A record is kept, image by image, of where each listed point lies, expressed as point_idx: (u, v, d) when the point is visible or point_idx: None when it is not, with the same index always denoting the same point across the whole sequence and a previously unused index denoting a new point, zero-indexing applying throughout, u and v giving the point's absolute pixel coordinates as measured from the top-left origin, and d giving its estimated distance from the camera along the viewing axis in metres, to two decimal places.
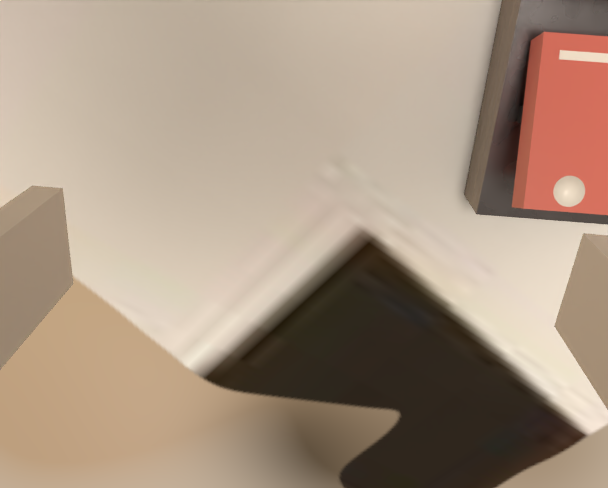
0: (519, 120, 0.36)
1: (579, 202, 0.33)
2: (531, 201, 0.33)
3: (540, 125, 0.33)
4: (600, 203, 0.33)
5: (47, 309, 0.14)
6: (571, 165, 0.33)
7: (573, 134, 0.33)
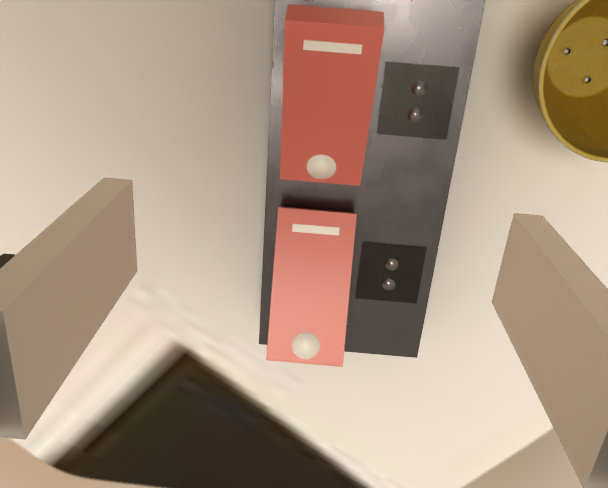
0: None
1: (315, 355, 0.37)
2: (273, 353, 0.37)
3: (278, 288, 0.37)
4: (334, 356, 0.37)
5: (119, 293, 0.15)
6: (307, 322, 0.37)
7: (307, 296, 0.37)
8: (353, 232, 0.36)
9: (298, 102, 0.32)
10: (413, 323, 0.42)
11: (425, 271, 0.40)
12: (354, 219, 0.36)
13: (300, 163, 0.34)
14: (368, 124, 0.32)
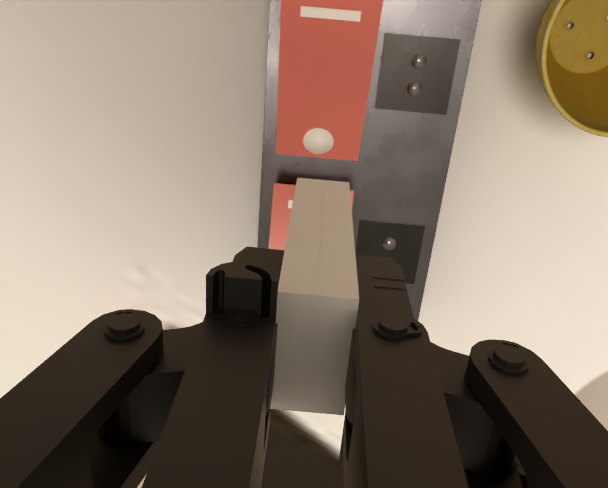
0: None
1: None
2: None
3: None
4: None
5: None
6: None
7: None
8: None
9: (295, 72, 0.31)
10: None
11: (423, 251, 0.39)
12: (351, 196, 0.35)
13: (297, 137, 0.34)
14: (366, 96, 0.31)
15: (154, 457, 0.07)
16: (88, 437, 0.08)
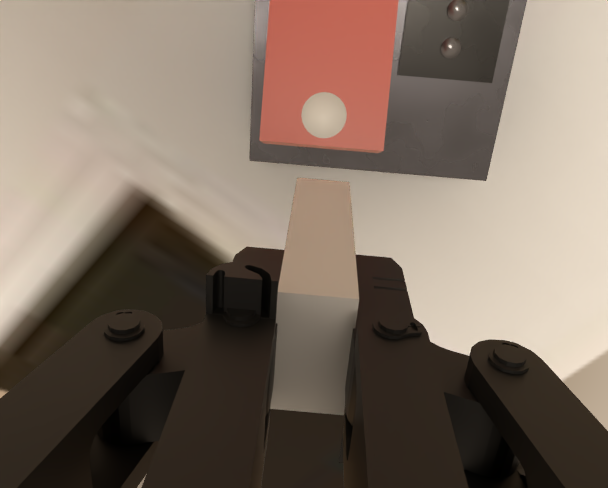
0: None
1: (340, 131, 0.23)
2: (270, 130, 0.23)
3: (278, 17, 0.22)
4: (369, 133, 0.23)
5: None
6: (326, 76, 0.23)
7: (326, 31, 0.22)
8: None
9: None
10: (484, 120, 0.28)
11: (508, 25, 0.26)
12: None
13: None
14: None
15: (154, 457, 0.07)
16: (87, 437, 0.08)
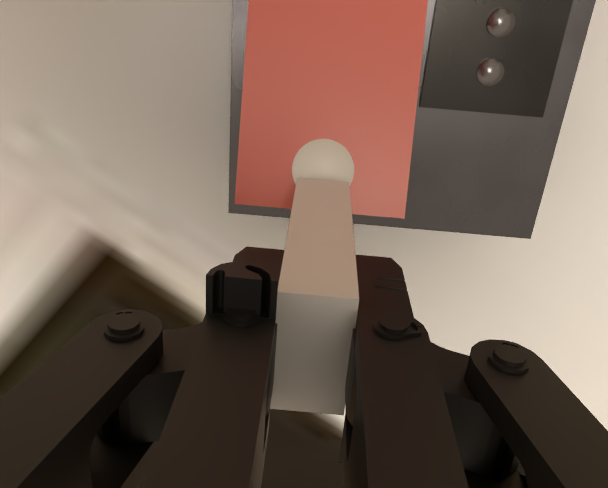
0: None
1: None
2: (250, 190, 0.17)
3: (260, 35, 0.16)
4: (386, 195, 0.17)
5: None
6: (326, 117, 0.16)
7: (327, 55, 0.16)
8: None
9: None
10: (531, 164, 0.21)
11: (566, 42, 0.19)
12: None
13: None
14: None
15: (154, 457, 0.07)
16: (87, 437, 0.08)
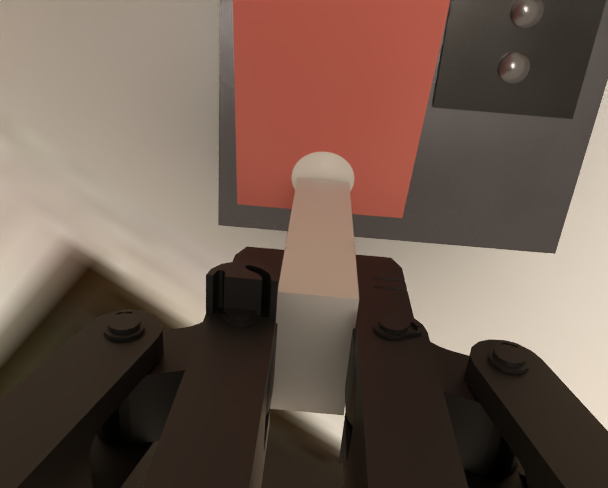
0: None
1: None
2: (251, 193, 0.17)
3: (250, 50, 0.14)
4: (385, 199, 0.17)
5: None
6: (325, 132, 0.15)
7: (326, 71, 0.14)
8: None
9: None
10: (557, 171, 0.19)
11: (601, 34, 0.17)
12: None
13: None
14: None
15: (154, 457, 0.07)
16: (88, 437, 0.08)
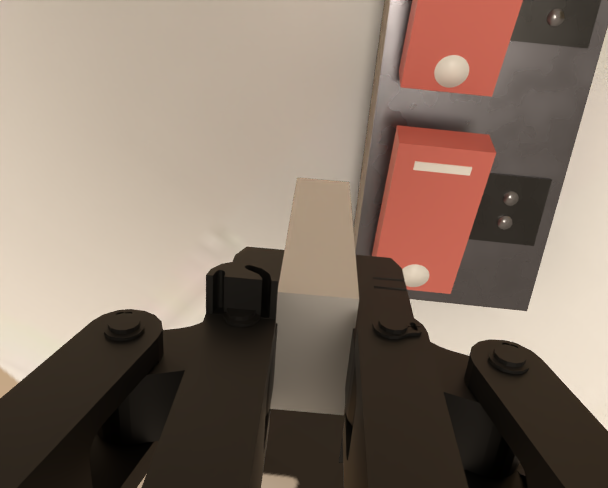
0: None
1: (423, 283, 0.35)
2: None
3: (390, 224, 0.33)
4: (443, 285, 0.35)
5: None
6: (418, 256, 0.34)
7: (422, 233, 0.33)
8: (488, 172, 0.30)
9: None
10: (527, 269, 0.37)
11: (546, 208, 0.36)
12: (492, 158, 0.29)
13: (428, 66, 0.30)
14: (516, 14, 0.28)
15: (154, 457, 0.07)
16: (88, 437, 0.08)
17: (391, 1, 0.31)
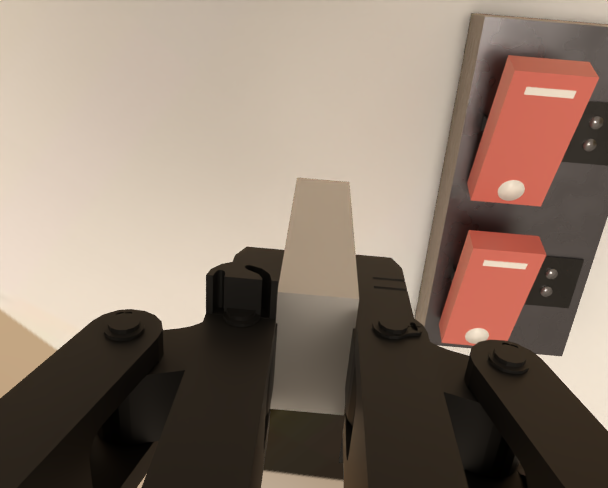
0: (451, 279, 0.45)
1: None
2: (448, 339, 0.45)
3: (461, 301, 0.42)
4: None
5: None
6: (481, 322, 0.44)
7: (485, 307, 0.43)
8: (539, 267, 0.40)
9: (506, 137, 0.37)
10: (562, 325, 0.47)
11: (579, 280, 0.45)
12: (543, 258, 0.39)
13: (493, 187, 0.40)
14: (562, 155, 0.38)
15: (154, 457, 0.07)
16: (88, 437, 0.08)
17: (463, 133, 0.41)
